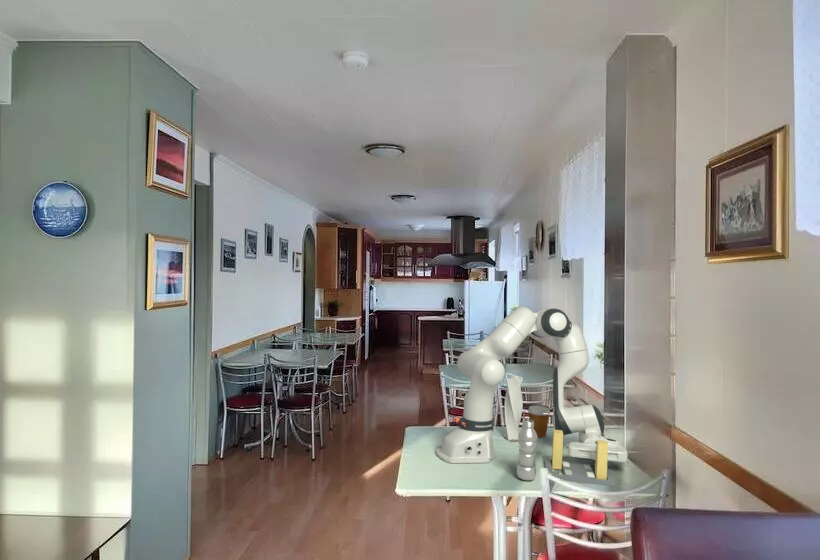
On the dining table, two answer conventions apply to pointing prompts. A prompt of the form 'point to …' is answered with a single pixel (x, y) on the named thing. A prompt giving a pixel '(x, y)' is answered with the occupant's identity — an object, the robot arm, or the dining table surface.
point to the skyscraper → (513, 408)
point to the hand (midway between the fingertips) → (600, 459)
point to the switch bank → (579, 472)
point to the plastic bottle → (527, 451)
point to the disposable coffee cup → (539, 419)
